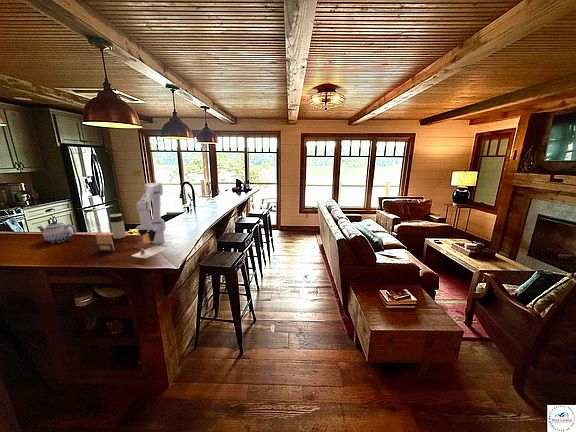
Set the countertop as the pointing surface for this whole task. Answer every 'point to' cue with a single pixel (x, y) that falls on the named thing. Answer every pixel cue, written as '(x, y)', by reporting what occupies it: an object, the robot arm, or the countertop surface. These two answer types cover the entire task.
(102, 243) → the tan upright slab
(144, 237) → the cupcake
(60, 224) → the teapot
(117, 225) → the travel mug
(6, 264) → the countertop surface
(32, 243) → the countertop surface
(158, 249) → the mounting plate
